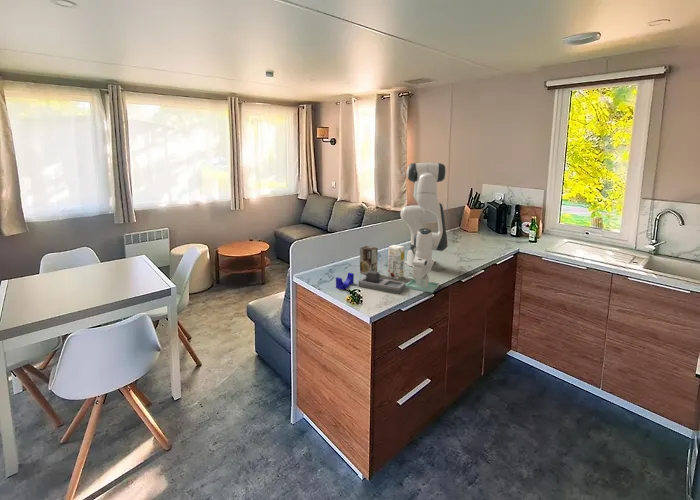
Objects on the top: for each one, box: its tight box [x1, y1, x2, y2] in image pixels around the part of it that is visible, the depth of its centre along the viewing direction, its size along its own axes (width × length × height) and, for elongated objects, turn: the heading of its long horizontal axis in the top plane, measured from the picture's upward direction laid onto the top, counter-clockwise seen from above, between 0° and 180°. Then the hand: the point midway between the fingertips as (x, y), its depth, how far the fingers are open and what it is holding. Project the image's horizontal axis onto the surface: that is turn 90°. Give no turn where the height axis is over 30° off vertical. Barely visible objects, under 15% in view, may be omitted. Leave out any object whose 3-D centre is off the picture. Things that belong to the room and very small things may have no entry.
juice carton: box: [387, 244, 406, 281], centre depth 226 cm, size 8×9×19 cm
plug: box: [415, 275, 430, 288], centre depth 211 cm, size 4×6×6 cm
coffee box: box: [359, 245, 378, 275], centre depth 234 cm, size 9×6×16 cm
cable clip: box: [335, 272, 355, 291], centre depth 213 cm, size 12×4×6 cm, turn 142°
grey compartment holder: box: [358, 271, 407, 295], centre depth 211 cm, size 10×24×8 cm, turn 61°
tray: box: [405, 278, 440, 294], centre depth 212 cm, size 12×16×2 cm
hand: (422, 283), depth 212 cm, fingers open, 5 cm apart
